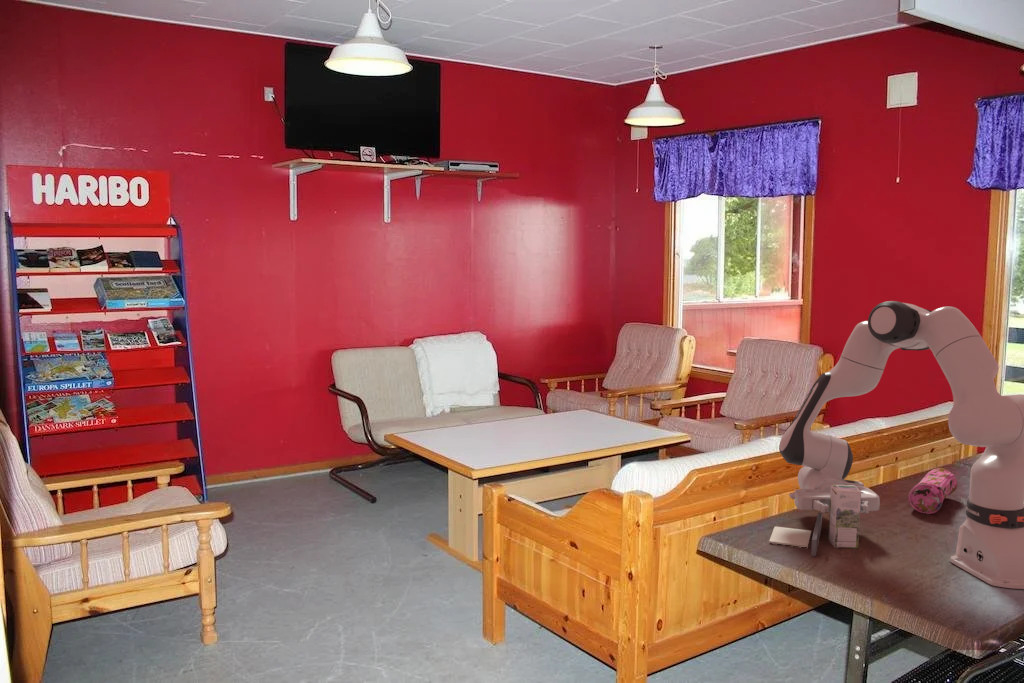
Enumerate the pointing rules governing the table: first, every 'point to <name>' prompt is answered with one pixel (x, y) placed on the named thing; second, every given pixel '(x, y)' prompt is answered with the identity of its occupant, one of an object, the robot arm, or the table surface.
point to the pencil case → (932, 491)
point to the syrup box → (844, 516)
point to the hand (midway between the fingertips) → (845, 509)
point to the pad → (790, 536)
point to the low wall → (816, 534)
